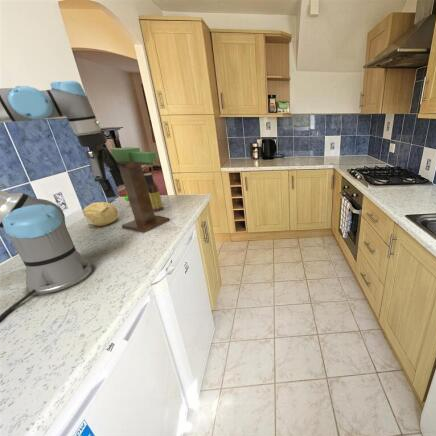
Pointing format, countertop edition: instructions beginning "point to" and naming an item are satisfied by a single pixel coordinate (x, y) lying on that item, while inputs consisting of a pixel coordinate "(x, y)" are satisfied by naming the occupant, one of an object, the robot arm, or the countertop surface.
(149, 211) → the walnut stand
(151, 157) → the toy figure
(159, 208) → the sauce bottle
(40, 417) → the countertop surface
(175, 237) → the countertop surface
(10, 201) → the robot arm
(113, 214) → the sculpture
